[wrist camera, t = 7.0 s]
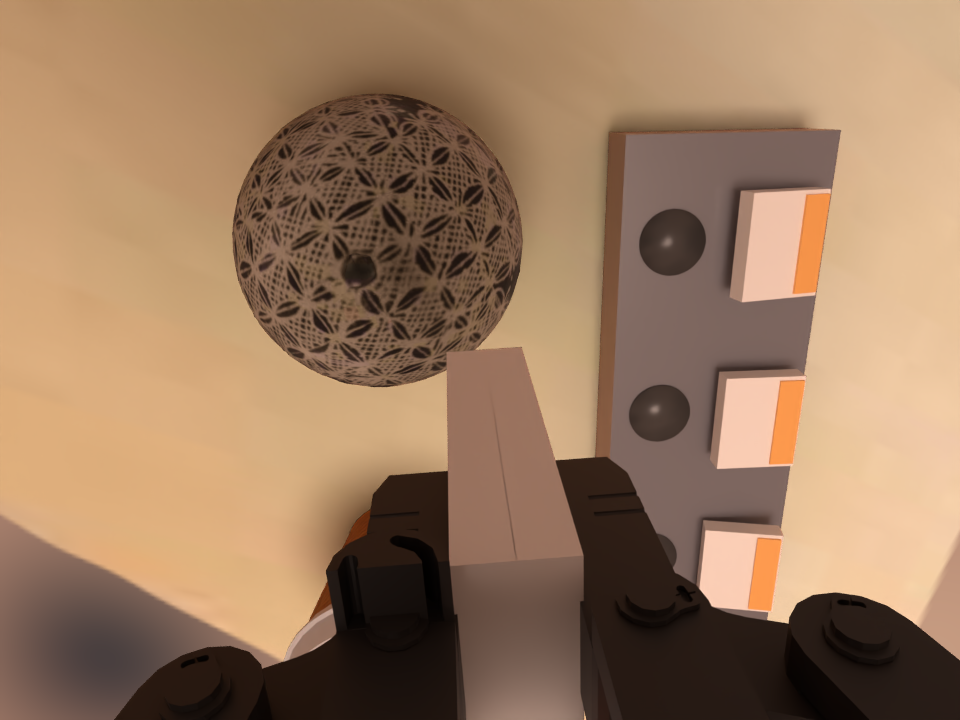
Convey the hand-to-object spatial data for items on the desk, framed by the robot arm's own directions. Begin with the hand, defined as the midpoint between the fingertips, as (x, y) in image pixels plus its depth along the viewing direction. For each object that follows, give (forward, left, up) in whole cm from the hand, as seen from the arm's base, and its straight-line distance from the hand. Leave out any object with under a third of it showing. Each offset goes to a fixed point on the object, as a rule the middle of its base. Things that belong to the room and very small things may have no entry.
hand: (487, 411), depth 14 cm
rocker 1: (0, +15, -19) cm, 24 cm away
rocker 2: (+18, +15, -19) cm, 30 cm away
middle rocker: (+9, +15, -19) cm, 26 cm away
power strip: (+9, +13, -23) cm, 28 cm away
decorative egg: (-1, -3, -24) cm, 24 cm away
